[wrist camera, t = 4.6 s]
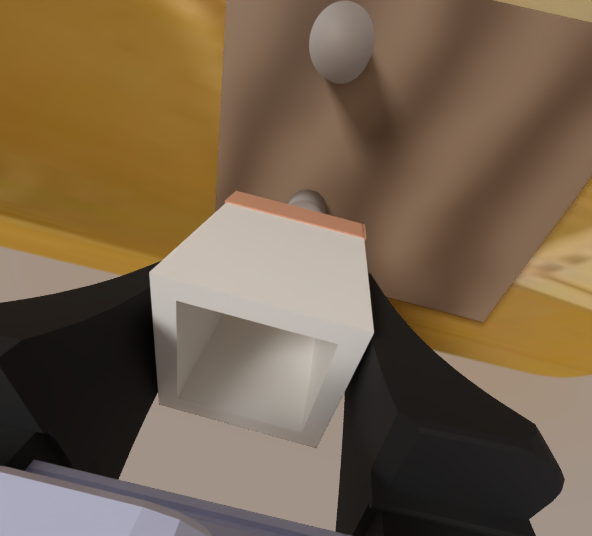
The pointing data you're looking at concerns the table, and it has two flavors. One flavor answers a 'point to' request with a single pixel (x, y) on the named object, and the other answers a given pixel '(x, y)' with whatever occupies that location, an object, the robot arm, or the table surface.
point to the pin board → (412, 131)
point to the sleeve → (262, 317)
